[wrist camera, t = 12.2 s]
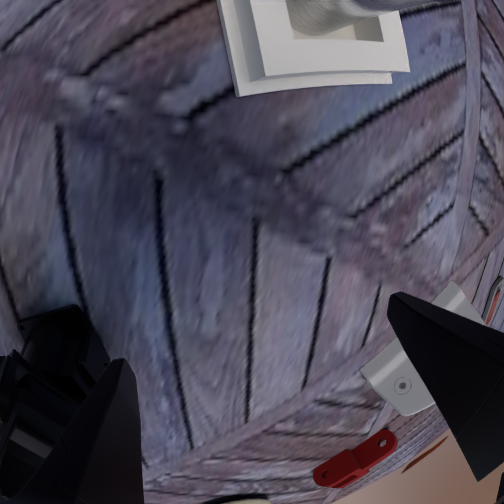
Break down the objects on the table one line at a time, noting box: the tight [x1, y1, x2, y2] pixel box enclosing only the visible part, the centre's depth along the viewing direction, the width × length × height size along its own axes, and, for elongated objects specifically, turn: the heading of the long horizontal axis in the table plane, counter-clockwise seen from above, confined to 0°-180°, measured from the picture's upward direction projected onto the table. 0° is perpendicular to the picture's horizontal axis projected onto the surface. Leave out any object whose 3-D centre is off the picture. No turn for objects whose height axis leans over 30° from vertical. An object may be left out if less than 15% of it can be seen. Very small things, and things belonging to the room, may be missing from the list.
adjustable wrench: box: [482, 276, 504, 327], centre depth 42 cm, size 8×26×2 cm, turn 3°
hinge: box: [360, 281, 487, 416], centre depth 31 cm, size 17×5×10 cm, turn 128°
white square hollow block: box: [216, 0, 410, 97], centre depth 14 cm, size 12×12×4 cm
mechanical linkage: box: [313, 430, 398, 488], centre depth 43 cm, size 16×7×5 cm, turn 127°
